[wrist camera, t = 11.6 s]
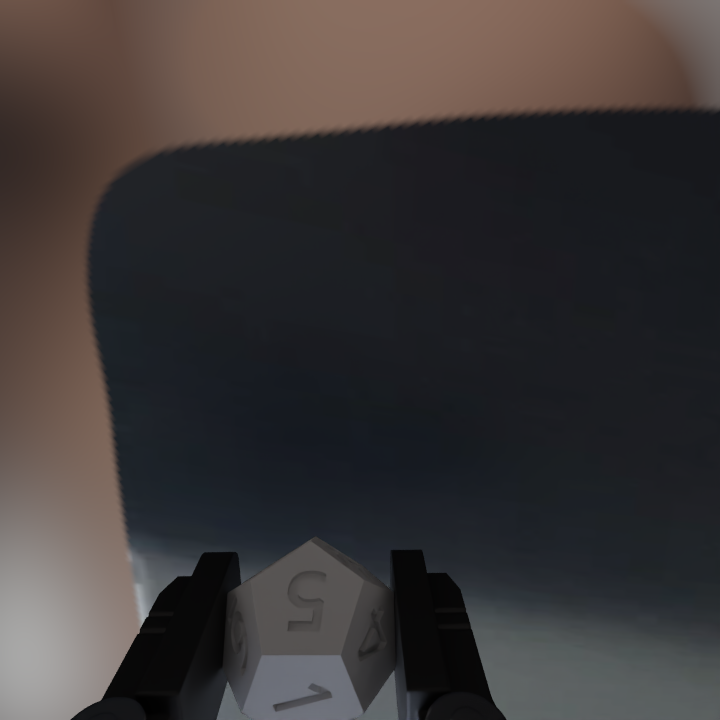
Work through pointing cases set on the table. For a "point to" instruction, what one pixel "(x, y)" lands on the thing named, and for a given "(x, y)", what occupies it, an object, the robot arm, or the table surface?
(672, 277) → the table surface
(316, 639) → the game die
